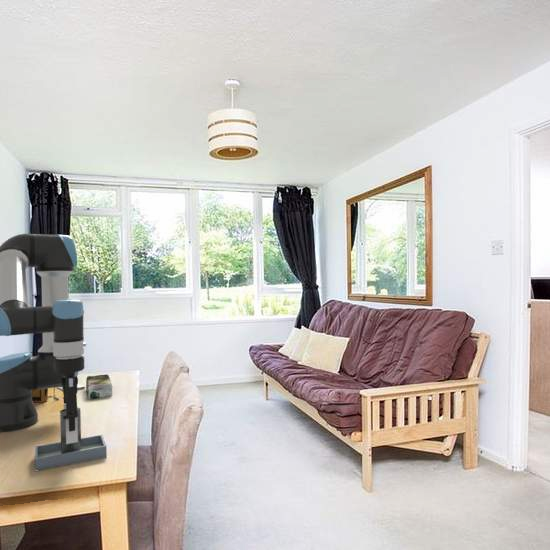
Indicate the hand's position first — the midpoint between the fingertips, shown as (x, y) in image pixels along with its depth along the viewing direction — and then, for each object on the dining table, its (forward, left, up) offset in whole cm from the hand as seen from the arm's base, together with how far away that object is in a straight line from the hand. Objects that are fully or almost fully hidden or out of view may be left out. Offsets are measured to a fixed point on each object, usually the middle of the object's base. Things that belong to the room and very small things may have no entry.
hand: (70, 434), depth 119 cm
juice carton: (-70, +14, -7) cm, 72 cm away
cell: (0, 0, -5) cm, 5 cm away
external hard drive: (-86, +4, -7) cm, 86 cm away
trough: (0, 0, -6) cm, 6 cm away
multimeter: (-71, -7, -6) cm, 72 cm away
